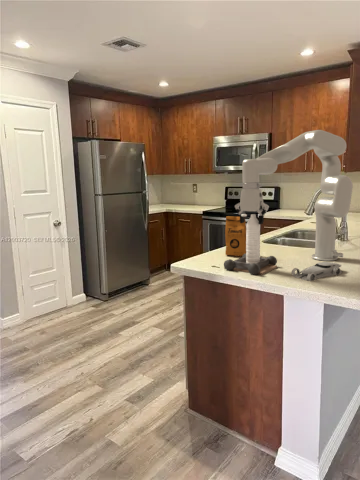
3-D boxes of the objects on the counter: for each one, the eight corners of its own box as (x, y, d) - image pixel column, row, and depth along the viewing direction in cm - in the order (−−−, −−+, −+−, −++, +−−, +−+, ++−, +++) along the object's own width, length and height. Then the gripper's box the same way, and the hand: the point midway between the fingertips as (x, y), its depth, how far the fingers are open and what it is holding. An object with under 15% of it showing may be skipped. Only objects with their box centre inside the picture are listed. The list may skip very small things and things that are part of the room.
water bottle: (259, 264, 171) (260, 213, 167) (260, 267, 165) (260, 214, 160) (241, 264, 173) (241, 213, 168) (241, 267, 167) (241, 215, 162)
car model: (289, 276, 155) (289, 265, 154) (327, 268, 166) (328, 257, 165) (309, 282, 145) (309, 271, 144) (348, 273, 156) (349, 262, 155)
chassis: (278, 266, 169) (279, 256, 169) (259, 276, 155) (260, 265, 154) (242, 261, 182) (242, 251, 181) (222, 269, 168) (221, 259, 167)
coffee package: (245, 257, 190) (245, 217, 186) (223, 256, 195) (222, 216, 191) (249, 254, 198) (249, 215, 194) (228, 252, 204) (228, 214, 200)
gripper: (272, 185, 159) (272, 223, 162) (238, 186, 170) (239, 221, 173) (264, 186, 153) (264, 225, 157) (230, 187, 165) (231, 223, 168)
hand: (251, 223), depth 165 cm, fingers open, 9 cm apart
